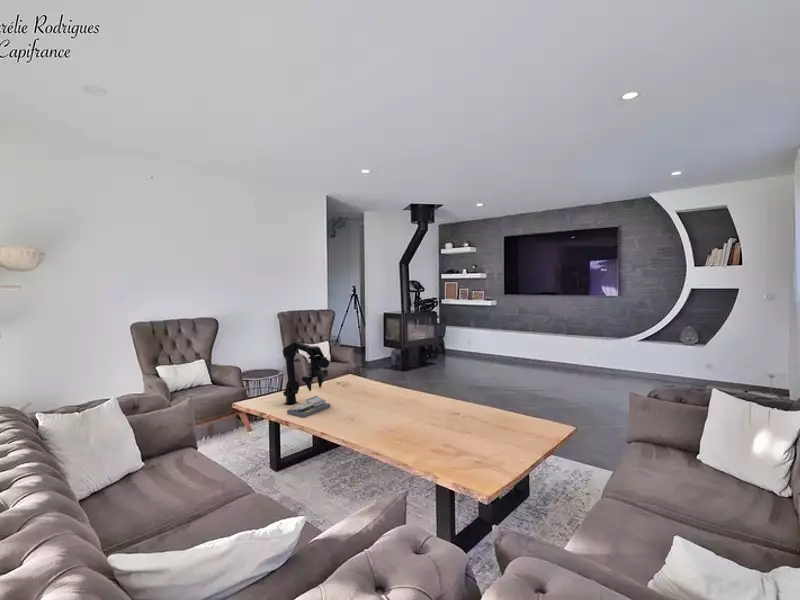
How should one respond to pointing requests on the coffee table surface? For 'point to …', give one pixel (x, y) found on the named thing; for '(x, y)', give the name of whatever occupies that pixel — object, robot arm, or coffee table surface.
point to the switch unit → (308, 410)
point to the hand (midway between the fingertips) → (315, 389)
